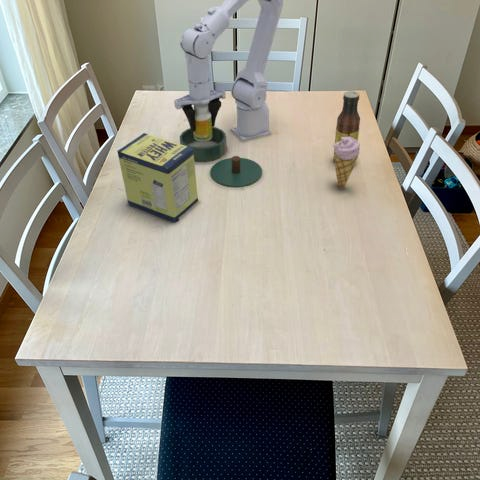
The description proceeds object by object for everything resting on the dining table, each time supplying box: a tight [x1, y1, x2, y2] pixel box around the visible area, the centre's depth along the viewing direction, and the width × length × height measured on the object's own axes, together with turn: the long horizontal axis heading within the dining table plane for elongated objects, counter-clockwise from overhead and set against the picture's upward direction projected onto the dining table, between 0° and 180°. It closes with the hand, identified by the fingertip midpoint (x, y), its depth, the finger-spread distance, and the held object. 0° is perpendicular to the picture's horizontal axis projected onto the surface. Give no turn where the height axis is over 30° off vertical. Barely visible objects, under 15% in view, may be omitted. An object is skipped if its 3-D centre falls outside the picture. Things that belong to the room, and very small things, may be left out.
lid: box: [209, 155, 263, 188], centre depth 137 cm, size 14×14×5 cm
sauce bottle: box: [333, 90, 361, 163], centre depth 135 cm, size 7×6×20 cm
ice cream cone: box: [331, 137, 361, 189], centre depth 128 cm, size 7×6×15 cm
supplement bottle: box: [193, 103, 212, 143], centre depth 140 cm, size 5×5×10 cm
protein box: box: [116, 132, 199, 223], centre depth 124 cm, size 10×16×16 cm
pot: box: [179, 126, 228, 163], centre depth 145 cm, size 13×14×5 cm
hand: (202, 127), depth 142 cm, fingers closed on supplement bottle, 5 cm apart
